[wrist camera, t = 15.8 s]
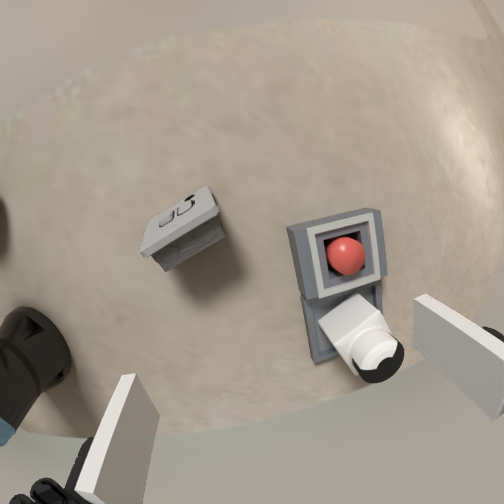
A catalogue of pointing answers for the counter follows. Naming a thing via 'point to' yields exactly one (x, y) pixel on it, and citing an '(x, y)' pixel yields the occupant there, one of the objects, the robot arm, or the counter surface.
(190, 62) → the counter surface
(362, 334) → the medicine bottle
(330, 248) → the button
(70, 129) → the counter surface
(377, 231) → the console
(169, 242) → the electrical switch
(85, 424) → the counter surface
